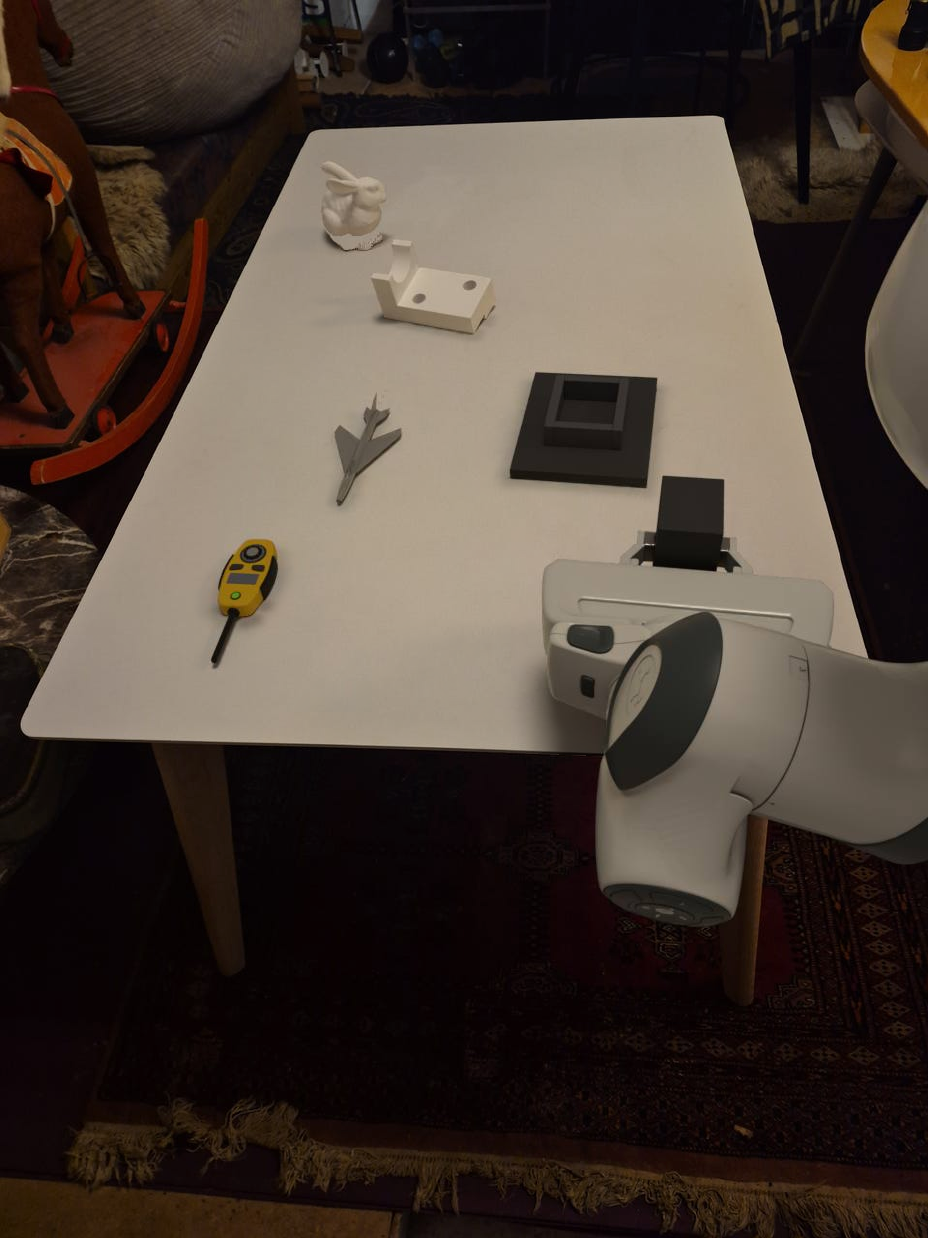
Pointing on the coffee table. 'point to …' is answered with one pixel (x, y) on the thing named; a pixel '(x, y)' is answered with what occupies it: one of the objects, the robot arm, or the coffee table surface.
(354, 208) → the rabbit
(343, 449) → the toy airplane
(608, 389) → the base pad
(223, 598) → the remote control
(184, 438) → the coffee table surface
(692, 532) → the pad block
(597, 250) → the coffee table surface
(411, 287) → the bracket
